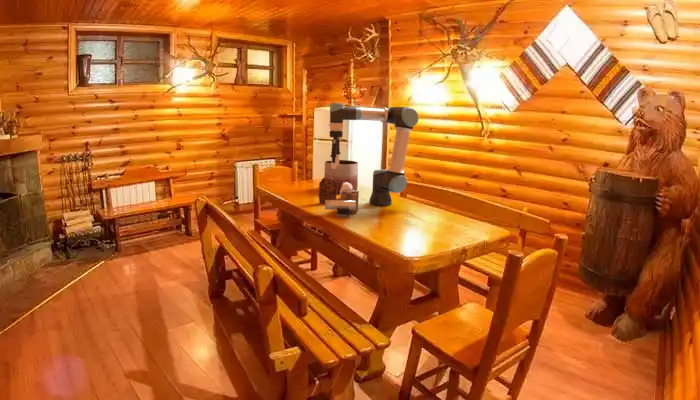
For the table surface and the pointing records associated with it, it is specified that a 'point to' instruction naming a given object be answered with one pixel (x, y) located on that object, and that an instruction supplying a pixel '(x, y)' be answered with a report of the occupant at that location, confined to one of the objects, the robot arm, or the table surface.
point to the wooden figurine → (327, 189)
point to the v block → (343, 212)
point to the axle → (340, 204)
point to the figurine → (346, 186)
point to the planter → (343, 173)
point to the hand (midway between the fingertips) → (335, 167)
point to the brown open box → (350, 197)
